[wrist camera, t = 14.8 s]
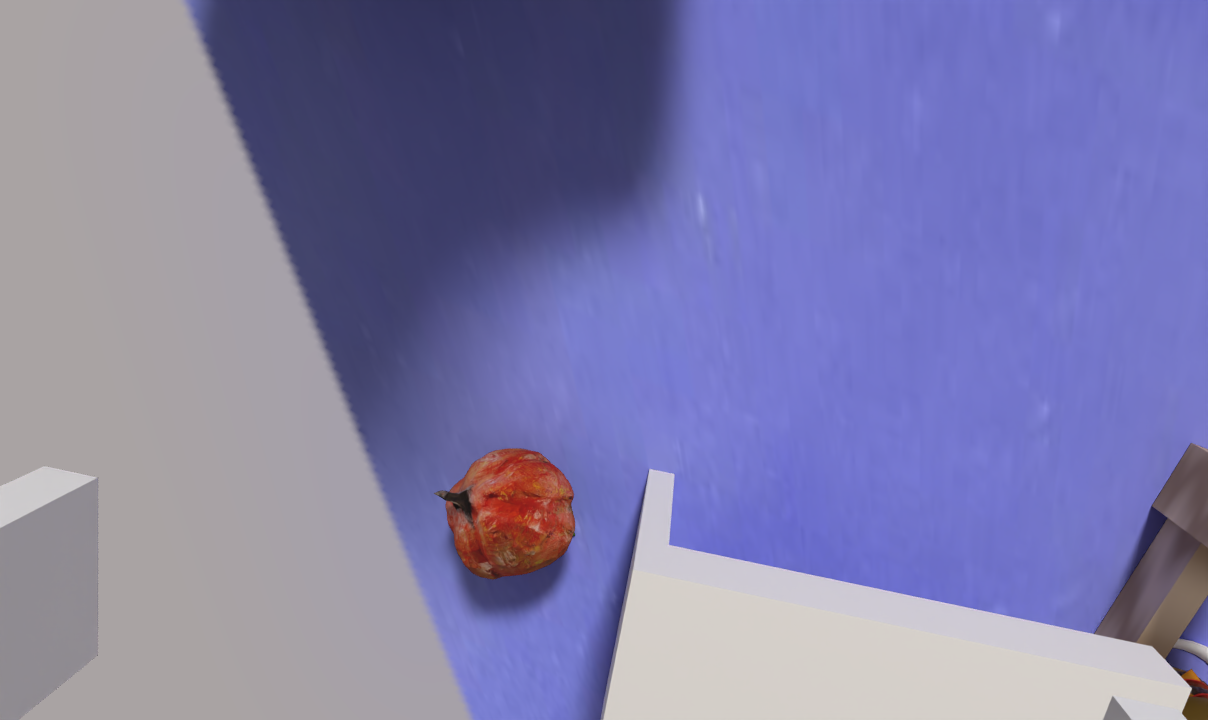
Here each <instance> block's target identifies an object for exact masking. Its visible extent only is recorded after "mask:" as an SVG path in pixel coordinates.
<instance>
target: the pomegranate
mask: <svg viewBox="0 0 1208 720" xmlns="http://www.w3.org/2000/svg"><path fill="white" fill-rule="evenodd" d="M434 494H436V495H438V496H440V497H441V498H443V499H444V500H446V510H447V520H448V524H449V526H450V528H451V530H452V531H453V533H454V541H455V547H456V550H457V552H458V555H459V556H460V558H461V560H462V561H463V563H464V565H465V566H466V567H467V568H468V569H469V570H470V571H471V572H472V573H473V574H475V575H477V576H480V577H483V578H488V579H497V578H500V577H503V576H514V575H523V574H527V573H531V572H533V571H536V570H538V569H540V568H543V567H545V566H547V565H550V564H551V563H552V562H554V561H555V560H557V559H558V558H559V557H561V556H562V555H563V554H564V553H565V552H566V550H567V549H568V546H569V544H570V542H571V539H572V537H573V536H575V533H574V531H575V518H574V515H573V511H572V507H571V502H572V500H573V496H574V493H573V490H572V487H571V485H570V483H569V481H568V480H567V479H566V477H565V476H564V474H563V473H562V472H561V471H560V470H559V469H558V468H557V467H555V466H554V465H553V464H551V463H550V461H549V460H548V459H547V458H545V457H544V456H543V455H542V454H540V453H539V452H535V451H530V450H526V449H502V450H496V451H493V452H490V453H488V454H486V455H485V456H484V457H482V458H480V459H478V460H477V461H475V462H474V463H473V464H472V465H471V467H470V468H469V470H468V472H467V474H466V475H465V477H464V478H463V479H462V480H460V481H459V482H458V483H457V484H455V485H454V486H453V487H452V488H451V490H450V491H449V492H447V491H443V490H442V491H438V492H436V493H434Z"/></svg>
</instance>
